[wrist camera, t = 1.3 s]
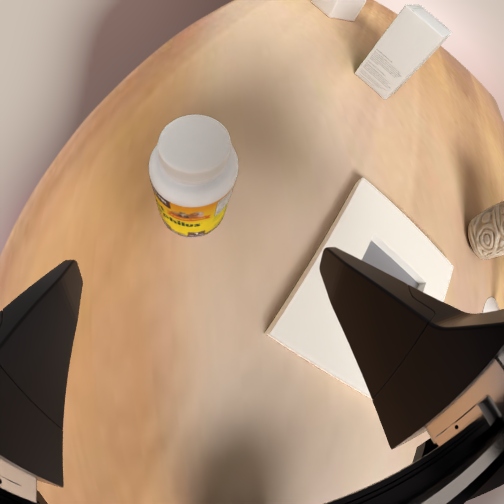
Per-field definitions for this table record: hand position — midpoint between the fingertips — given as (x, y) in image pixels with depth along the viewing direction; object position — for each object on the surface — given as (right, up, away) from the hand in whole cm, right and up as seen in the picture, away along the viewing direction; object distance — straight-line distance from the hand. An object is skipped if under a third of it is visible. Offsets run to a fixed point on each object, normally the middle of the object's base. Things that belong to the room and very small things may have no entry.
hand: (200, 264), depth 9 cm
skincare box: (+22, +27, +25) cm, 43 cm away
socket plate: (+14, -4, +16) cm, 22 cm away
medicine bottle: (+18, +50, +29) cm, 60 cm away
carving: (+35, +2, +22) cm, 41 cm away
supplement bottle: (-3, +4, +14) cm, 15 cm away
